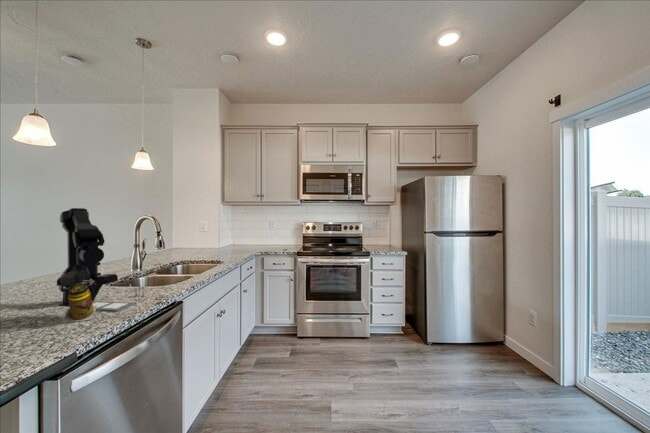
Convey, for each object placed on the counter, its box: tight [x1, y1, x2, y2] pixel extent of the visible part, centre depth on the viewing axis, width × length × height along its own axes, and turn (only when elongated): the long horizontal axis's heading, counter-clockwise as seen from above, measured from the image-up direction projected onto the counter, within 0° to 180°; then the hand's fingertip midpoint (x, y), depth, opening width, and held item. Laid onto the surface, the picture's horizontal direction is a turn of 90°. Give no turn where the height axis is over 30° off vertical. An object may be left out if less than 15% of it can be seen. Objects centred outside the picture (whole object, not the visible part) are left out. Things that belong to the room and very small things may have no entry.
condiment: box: [60, 284, 98, 324], centre depth 92 cm, size 7×8×12 cm
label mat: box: [92, 300, 136, 313], centre depth 107 cm, size 18×9×1 cm, turn 87°
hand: (88, 302), depth 97 cm, fingers closed
